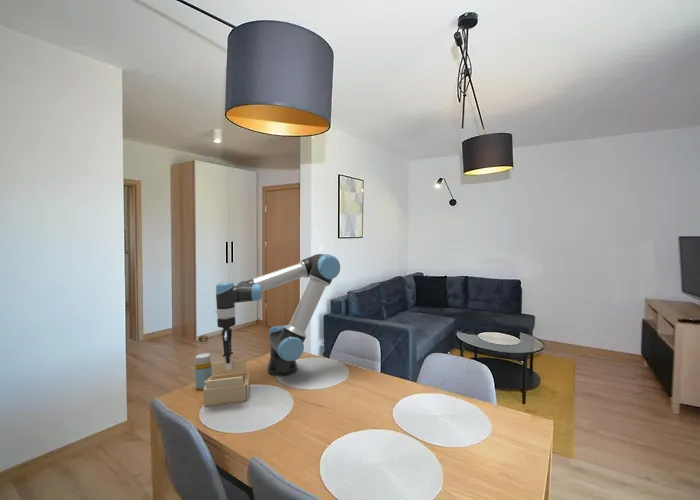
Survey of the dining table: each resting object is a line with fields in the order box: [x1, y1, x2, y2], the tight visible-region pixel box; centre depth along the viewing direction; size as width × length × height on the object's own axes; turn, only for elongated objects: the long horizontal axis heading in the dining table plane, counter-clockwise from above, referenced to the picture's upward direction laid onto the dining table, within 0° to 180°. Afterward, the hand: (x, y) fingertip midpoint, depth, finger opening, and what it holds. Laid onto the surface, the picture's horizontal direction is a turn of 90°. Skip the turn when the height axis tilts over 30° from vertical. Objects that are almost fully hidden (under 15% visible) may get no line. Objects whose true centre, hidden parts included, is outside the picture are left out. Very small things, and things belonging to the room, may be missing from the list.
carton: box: [202, 371, 251, 408], centre depth 147 cm, size 17×14×7 cm
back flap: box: [211, 358, 247, 376], centre depth 152 cm, size 6×14×1 cm
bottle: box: [194, 352, 213, 391], centre depth 156 cm, size 7×7×15 cm
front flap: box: [204, 377, 243, 389], centre depth 138 cm, size 6×14×1 cm
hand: (228, 369), depth 150 cm, fingers closed
